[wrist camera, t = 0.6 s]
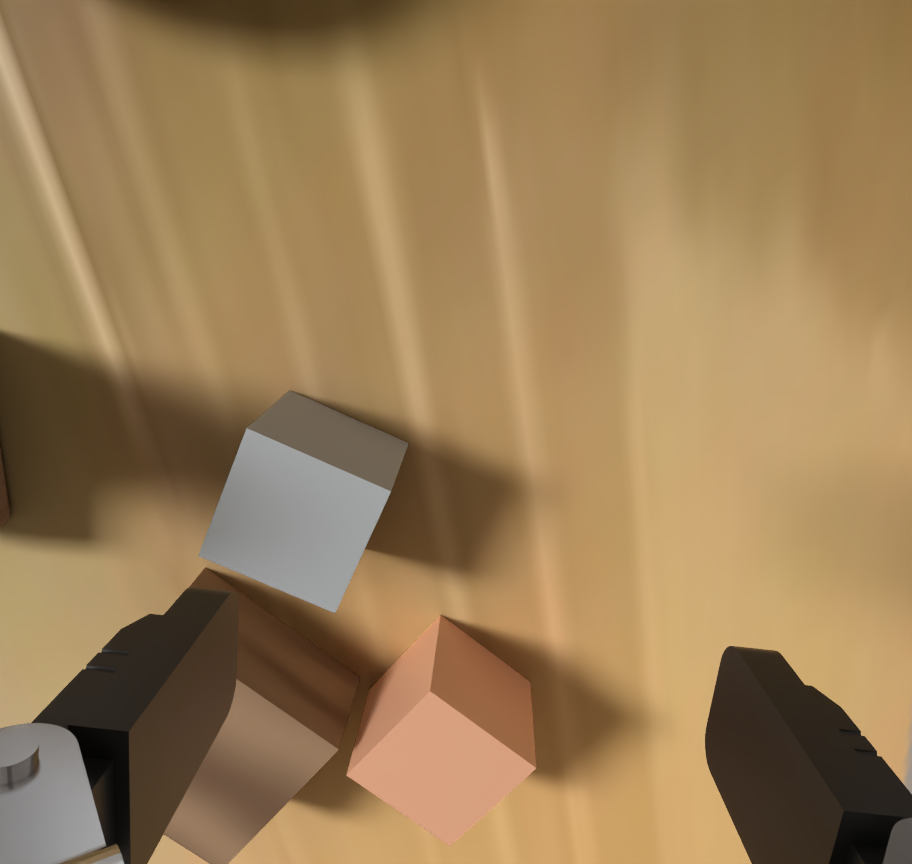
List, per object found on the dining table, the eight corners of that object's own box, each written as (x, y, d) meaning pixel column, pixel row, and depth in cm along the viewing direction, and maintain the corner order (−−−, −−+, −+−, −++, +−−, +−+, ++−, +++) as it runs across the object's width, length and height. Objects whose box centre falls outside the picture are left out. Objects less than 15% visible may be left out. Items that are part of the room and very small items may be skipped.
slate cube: (290, 389, 30) (246, 427, 25) (408, 442, 30) (390, 491, 25) (248, 498, 31) (198, 556, 26) (361, 546, 32) (335, 613, 27)
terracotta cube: (440, 613, 33) (430, 691, 27) (530, 680, 33) (536, 768, 28) (369, 688, 34) (346, 775, 29) (456, 750, 35) (449, 846, 30)
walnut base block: (207, 564, 33) (158, 625, 28) (360, 674, 34) (339, 749, 29) (110, 686, 35) (49, 761, 30) (257, 784, 36) (221, 871, 32)
